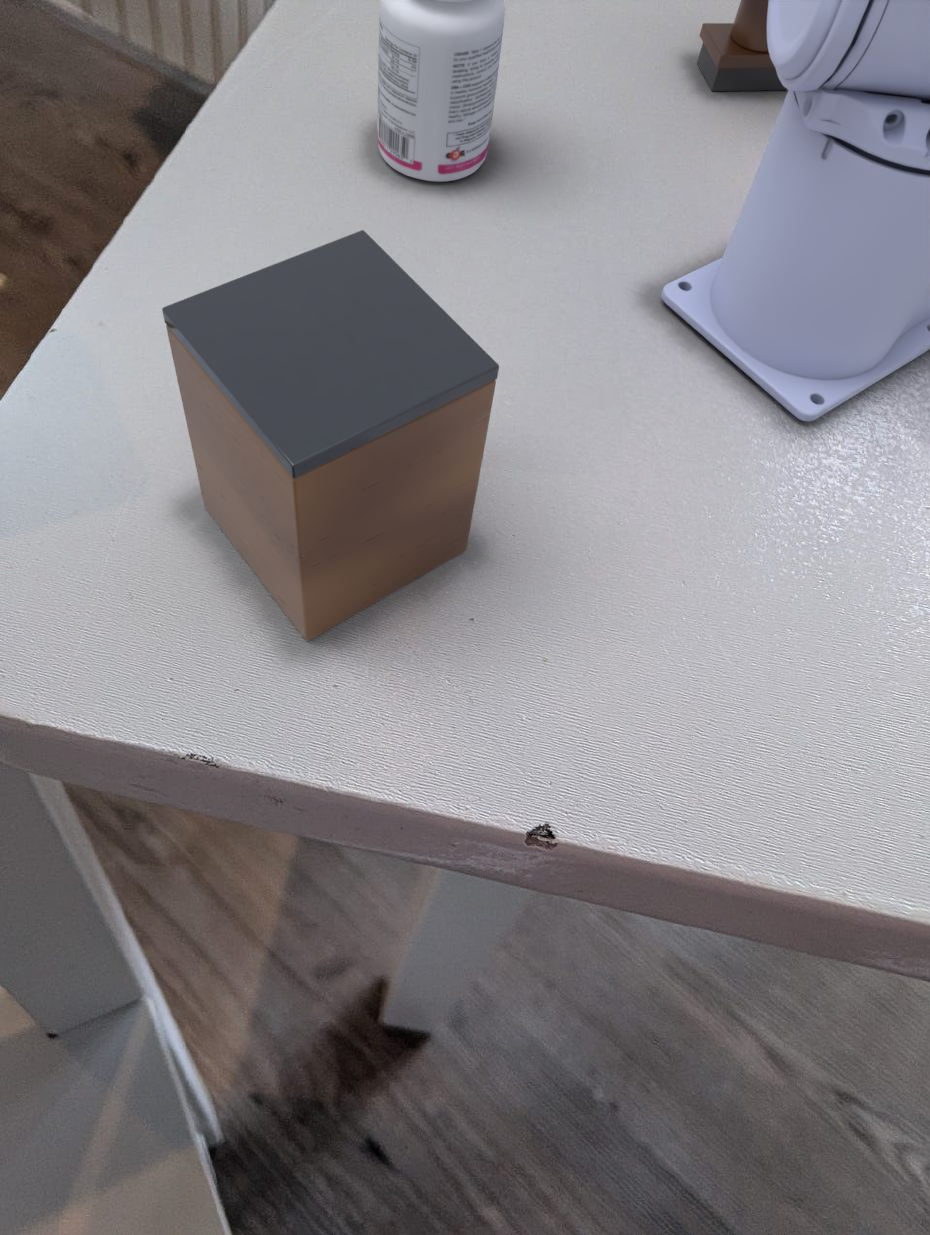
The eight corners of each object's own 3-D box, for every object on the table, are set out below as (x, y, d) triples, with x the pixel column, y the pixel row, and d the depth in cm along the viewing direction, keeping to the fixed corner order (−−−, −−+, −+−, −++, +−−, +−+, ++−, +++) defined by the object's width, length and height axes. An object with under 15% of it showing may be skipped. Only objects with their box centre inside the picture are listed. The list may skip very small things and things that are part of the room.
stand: (360, 430, 33) (362, 244, 26) (467, 551, 31) (497, 379, 24) (203, 507, 30) (164, 322, 24) (306, 643, 28) (293, 480, 22)
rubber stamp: (773, 60, 48) (814, -51, 44) (793, 93, 47) (837, -19, 42) (691, 60, 47) (724, -52, 43) (709, 93, 46) (745, -20, 42)
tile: (362, 244, 26) (363, 228, 26) (497, 379, 24) (500, 365, 24) (164, 322, 24) (160, 307, 24) (293, 480, 22) (292, 466, 22)
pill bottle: (486, 123, 43) (513, -94, 36) (487, 190, 40) (517, -29, 33) (378, 113, 42) (384, -109, 35) (373, 180, 40) (378, -44, 33)
